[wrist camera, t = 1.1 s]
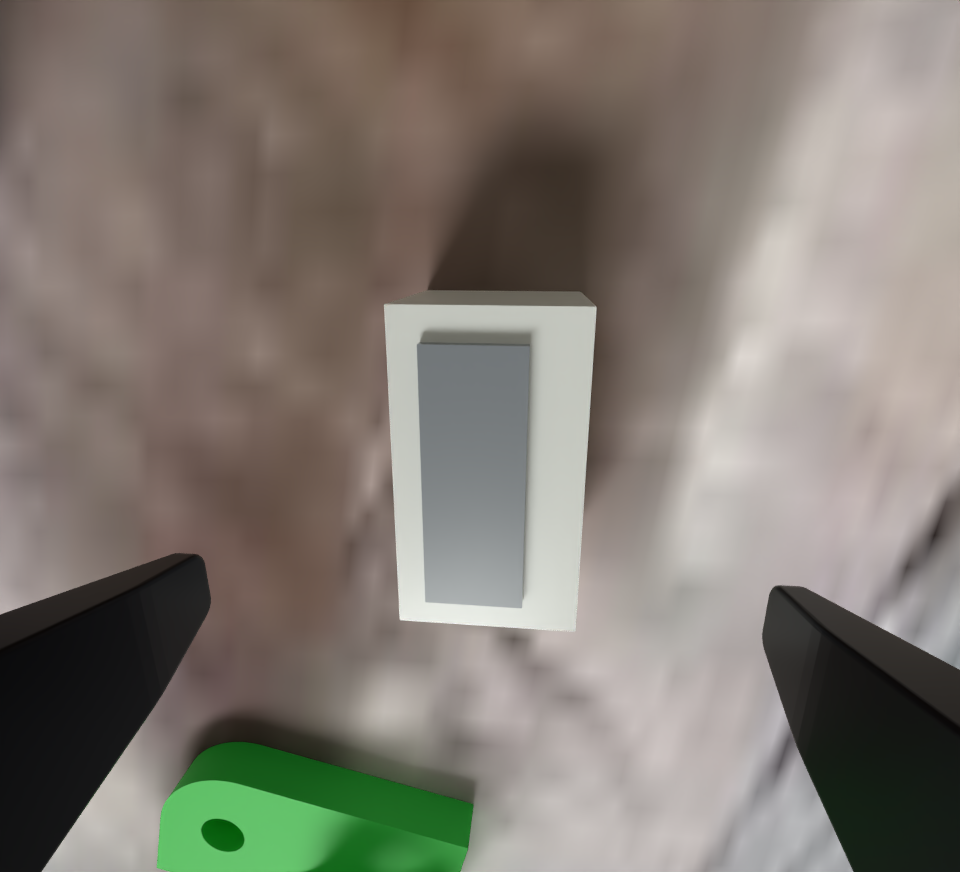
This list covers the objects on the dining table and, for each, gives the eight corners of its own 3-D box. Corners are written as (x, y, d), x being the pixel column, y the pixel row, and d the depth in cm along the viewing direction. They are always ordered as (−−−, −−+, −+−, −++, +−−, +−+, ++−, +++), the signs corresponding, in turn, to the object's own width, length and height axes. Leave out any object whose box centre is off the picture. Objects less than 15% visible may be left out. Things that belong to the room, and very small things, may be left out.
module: (585, 291, 16) (605, 308, 11) (571, 536, 19) (581, 640, 14) (428, 290, 17) (380, 305, 12) (434, 529, 19) (397, 627, 14)
